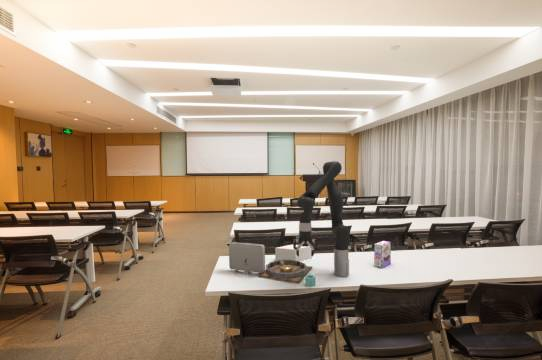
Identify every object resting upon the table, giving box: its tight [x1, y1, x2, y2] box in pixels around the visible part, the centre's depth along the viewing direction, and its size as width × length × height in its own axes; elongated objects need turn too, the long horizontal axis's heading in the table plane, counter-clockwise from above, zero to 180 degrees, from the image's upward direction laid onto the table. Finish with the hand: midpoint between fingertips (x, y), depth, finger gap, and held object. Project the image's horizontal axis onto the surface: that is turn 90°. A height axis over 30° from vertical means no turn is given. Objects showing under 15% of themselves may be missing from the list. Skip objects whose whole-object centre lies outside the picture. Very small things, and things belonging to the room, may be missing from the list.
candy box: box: [373, 240, 392, 269], centre depth 195 cm, size 14×6×16 cm, turn 131°
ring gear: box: [265, 260, 308, 279], centre depth 184 cm, size 27×27×3 cm
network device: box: [228, 241, 266, 277], centre depth 186 cm, size 26×9×20 cm, turn 68°
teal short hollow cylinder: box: [304, 274, 317, 288], centre depth 164 cm, size 6×6×5 cm
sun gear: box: [280, 265, 293, 273], centre depth 184 cm, size 9×9×2 cm
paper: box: [274, 244, 313, 262], centre depth 212 cm, size 14×29×10 cm, turn 96°
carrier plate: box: [258, 261, 313, 285], centre depth 184 cm, size 28×28×6 cm
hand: (305, 256), depth 165 cm, fingers open, 8 cm apart
